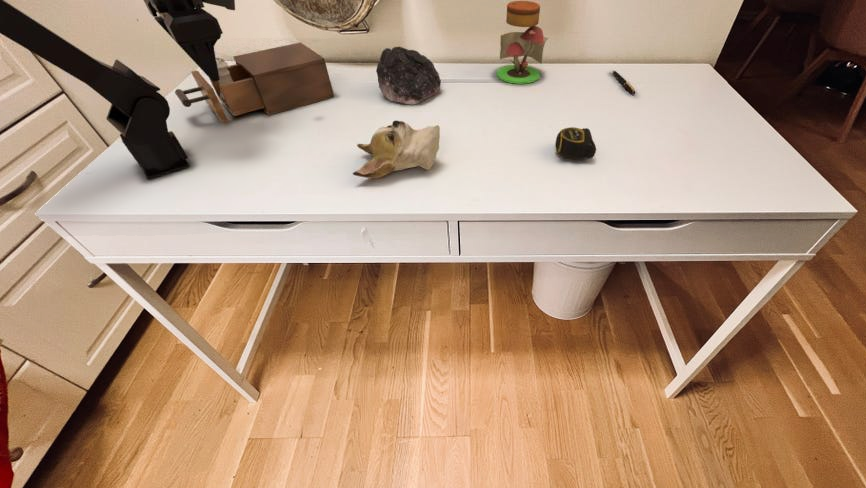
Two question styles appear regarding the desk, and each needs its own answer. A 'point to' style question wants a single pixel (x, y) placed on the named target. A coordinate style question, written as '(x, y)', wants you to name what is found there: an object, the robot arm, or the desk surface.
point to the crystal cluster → (407, 76)
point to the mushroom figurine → (522, 43)
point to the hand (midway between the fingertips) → (208, 72)
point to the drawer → (226, 93)
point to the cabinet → (288, 76)
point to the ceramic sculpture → (399, 149)
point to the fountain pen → (624, 82)
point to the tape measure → (575, 143)
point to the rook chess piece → (223, 75)
